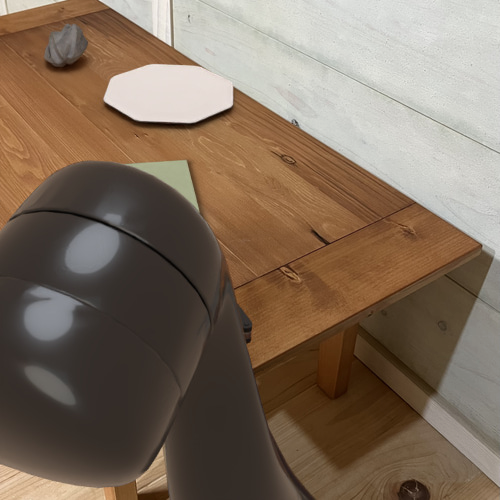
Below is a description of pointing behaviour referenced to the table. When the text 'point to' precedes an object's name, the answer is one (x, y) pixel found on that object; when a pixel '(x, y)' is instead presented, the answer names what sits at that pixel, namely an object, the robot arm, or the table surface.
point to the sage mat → (172, 176)
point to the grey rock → (65, 46)
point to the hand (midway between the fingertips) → (160, 284)
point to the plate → (169, 94)
